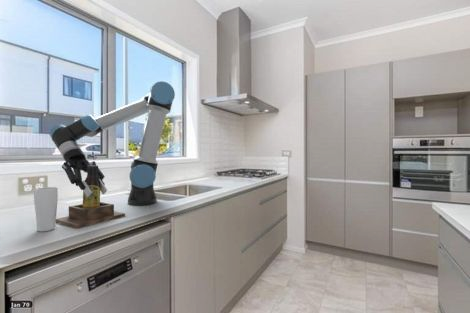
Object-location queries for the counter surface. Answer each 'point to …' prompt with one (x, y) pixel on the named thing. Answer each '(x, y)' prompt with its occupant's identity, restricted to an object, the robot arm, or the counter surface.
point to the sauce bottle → (92, 188)
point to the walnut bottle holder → (89, 215)
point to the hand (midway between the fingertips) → (97, 193)
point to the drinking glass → (46, 208)
